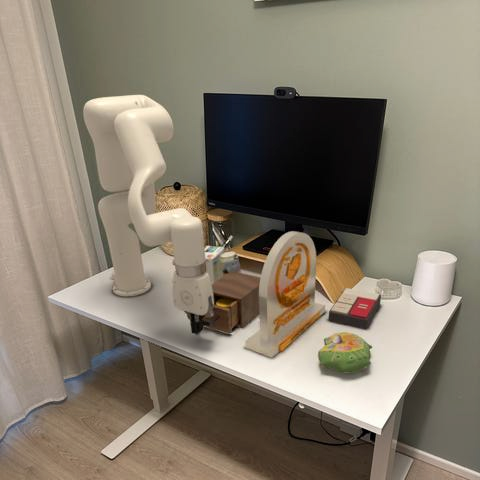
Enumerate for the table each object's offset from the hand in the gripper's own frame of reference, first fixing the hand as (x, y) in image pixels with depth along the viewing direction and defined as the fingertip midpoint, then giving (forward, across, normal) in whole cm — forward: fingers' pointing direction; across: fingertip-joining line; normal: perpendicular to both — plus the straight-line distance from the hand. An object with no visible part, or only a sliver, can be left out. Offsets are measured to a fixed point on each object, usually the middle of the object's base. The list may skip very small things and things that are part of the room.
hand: (197, 331), depth 120 cm
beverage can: (+4, -10, +32) cm, 34 cm away
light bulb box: (+4, -19, +33) cm, 39 cm away
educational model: (+4, +37, +11) cm, 39 cm away
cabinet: (+4, 0, +20) cm, 20 cm away
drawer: (+3, 0, +11) cm, 11 cm away
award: (+4, +18, +18) cm, 25 cm away
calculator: (+4, +31, +35) cm, 46 cm away
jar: (+2, 0, +13) cm, 13 cm away
